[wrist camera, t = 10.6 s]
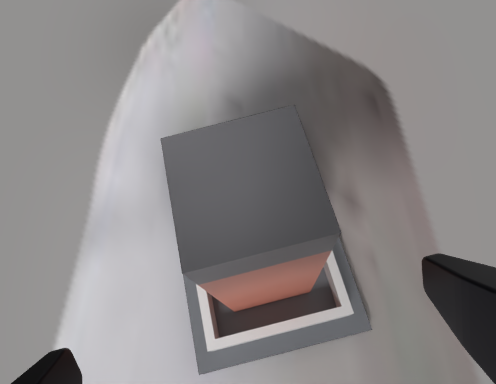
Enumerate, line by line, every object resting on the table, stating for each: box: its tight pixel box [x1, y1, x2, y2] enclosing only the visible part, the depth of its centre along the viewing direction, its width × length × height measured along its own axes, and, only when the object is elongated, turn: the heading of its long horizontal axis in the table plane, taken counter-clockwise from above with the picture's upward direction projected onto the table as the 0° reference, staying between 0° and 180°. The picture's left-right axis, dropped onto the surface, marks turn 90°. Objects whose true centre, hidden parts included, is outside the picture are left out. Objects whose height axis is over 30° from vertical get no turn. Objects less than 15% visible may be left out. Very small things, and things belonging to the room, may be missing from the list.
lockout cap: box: [161, 105, 341, 312], centre depth 16 cm, size 5×5×12 cm
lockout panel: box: [183, 238, 372, 375], centre depth 22 cm, size 15×10×4 cm, turn 13°
